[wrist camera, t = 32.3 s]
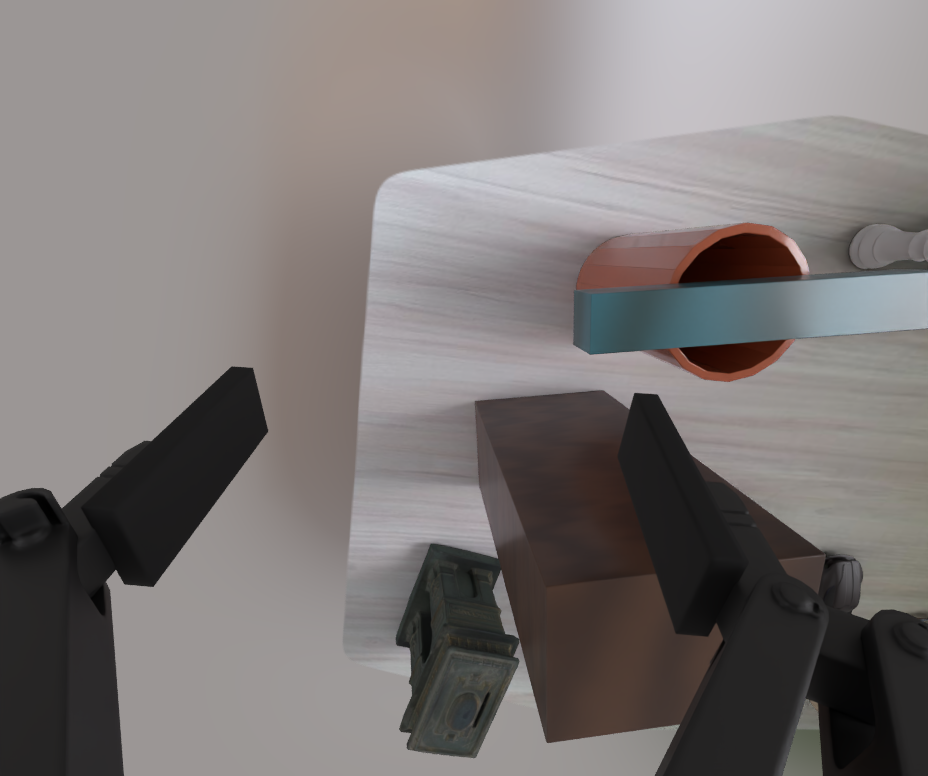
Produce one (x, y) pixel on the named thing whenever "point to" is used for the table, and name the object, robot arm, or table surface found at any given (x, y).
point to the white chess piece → (887, 246)
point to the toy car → (841, 582)
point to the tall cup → (699, 261)
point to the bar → (749, 310)
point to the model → (455, 653)
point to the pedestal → (593, 567)
